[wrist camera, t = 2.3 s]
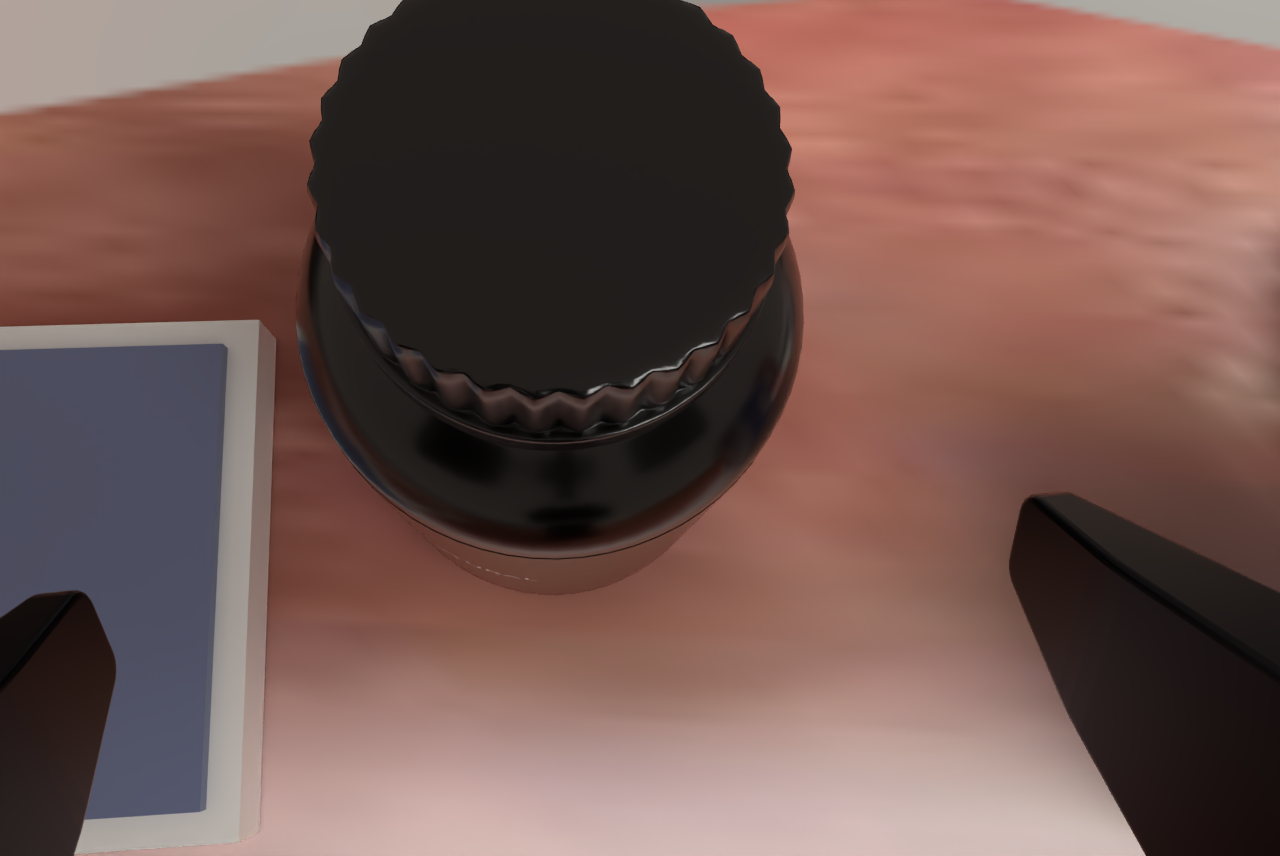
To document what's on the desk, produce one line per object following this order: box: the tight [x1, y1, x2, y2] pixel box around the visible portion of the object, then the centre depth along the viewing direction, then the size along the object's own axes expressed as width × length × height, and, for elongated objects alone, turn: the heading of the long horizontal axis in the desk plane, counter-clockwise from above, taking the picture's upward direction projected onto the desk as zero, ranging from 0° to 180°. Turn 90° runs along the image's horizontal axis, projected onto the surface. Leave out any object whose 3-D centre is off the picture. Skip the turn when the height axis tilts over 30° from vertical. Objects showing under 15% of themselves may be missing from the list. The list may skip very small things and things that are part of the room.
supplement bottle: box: [296, 0, 804, 595], centre depth 15 cm, size 7×7×12 cm
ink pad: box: [0, 320, 276, 854], centre depth 19 cm, size 10×9×2 cm
